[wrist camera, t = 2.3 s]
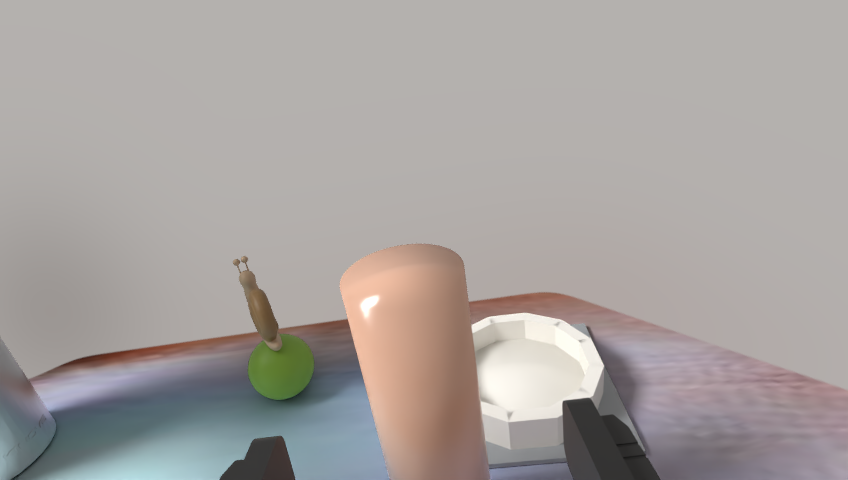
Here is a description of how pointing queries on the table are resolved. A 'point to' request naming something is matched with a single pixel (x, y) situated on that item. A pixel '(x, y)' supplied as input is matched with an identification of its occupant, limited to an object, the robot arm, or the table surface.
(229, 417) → the table surface
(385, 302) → the peach capsule cylinder
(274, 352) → the snail figurine
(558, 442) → the ceramic dish
